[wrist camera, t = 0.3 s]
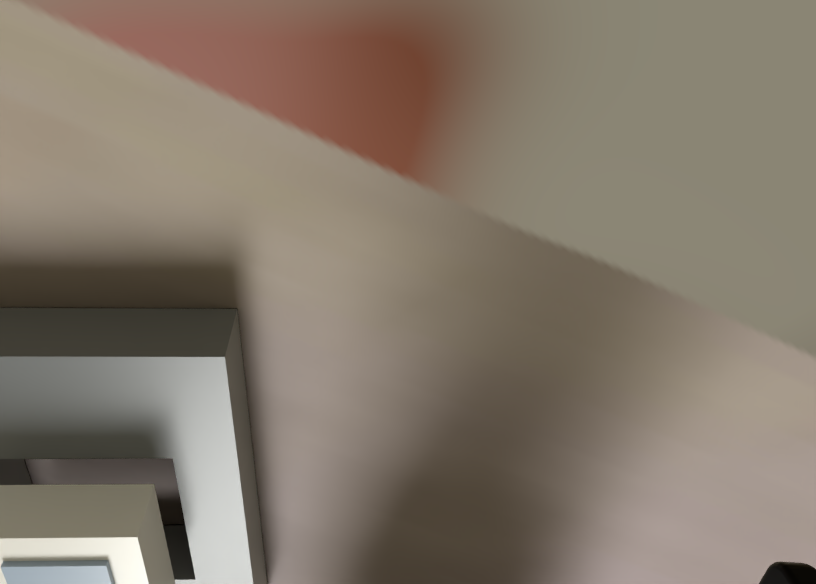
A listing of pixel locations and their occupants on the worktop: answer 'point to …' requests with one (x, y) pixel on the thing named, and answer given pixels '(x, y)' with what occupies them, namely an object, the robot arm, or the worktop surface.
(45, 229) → the worktop surface
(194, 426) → the keypad board
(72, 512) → the key
